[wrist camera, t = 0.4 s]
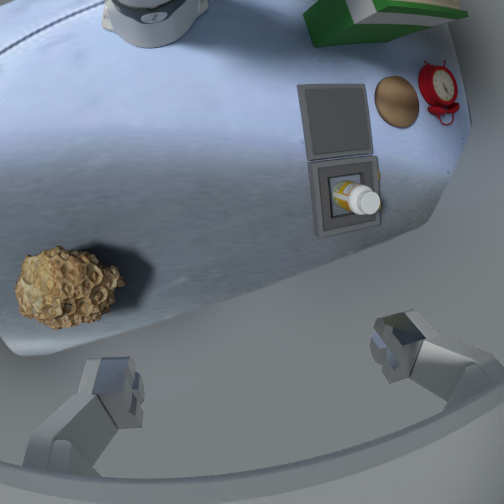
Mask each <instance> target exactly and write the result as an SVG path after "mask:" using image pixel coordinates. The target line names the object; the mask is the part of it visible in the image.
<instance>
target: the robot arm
mask: <svg viewBox="0 0 504 504" xmlns="http://www.w3.org/2000/svg"><path fill="white" fill-rule="evenodd" d="M105 1H106V2H105V7H104V12H103V18H102V27H103V29H105V30H107V31H110V32H114V33H116V34H118V35H119V36H120V37H121V38H122V39H123V40H125V41H126V42H128V43H129V44H131V45H134V46H137V47H143V48H154V47H160V46H164V45H167V44H169V43H172V42H174V41H176V40H177V39H179V38H180V37H181V36H183V35H184V34H185V33H186V32H187V31H188V30H189V28H190V27H191V26H192V24H193V22H194V21H195V19H196V18H197V17H198V16H200V15H201V14H203V13H204V12H205V11H206V10H207V9H208V7H209V3H208V0H202V1H201V2H200V0H105ZM107 18H108V19H107ZM374 329H375V330H376V333H375V334H374V335H373V336H372V338H371V343H370V347H371V353H372V356H373V358H374V360H375V361H376V362H377V363H379V364H381V365H383V366H382V372H383V374H384V375H385V377H386V379H387V380H388V382H389V383H393V382H396V381H400V380H403V379H406V378H409V377H410V379H411V380H413V381H415V382H416V383H418V384H420V385H421V386H423V387H424V388H426V389H428V390H429V391H431V392H433V393H434V394H436V395H438V396H439V397H441V398H442V399H444V400H446V401H447V404H446V406H445V407H444V409H443V411H442V412H440V413H438V414H436V415H434V416H432V417H429V418H427V419H425V420H423V421H421V422H418V423H416V424H413V425H411V426H409V427H406V428H404V429H401V430H399V431H396V432H393V433H391V434H388V435H385V436H383V437H380V438H377V439H374V440H371V441H368V442H365V443H362V444H360V445H356V446H353V447H350V448H346V449H343V450H340V451H336V452H333V453H330V454H325V455H322V456H318V457H314V458H310V459H306V460H301V461H297V462H293V463H288V464H283V465H278V466H273V467H268V468H262V469H256V470H250V471H244V472H236V473H228V474H220V475H210V476H198V477H185V478H184V477H183V478H157V479H156V478H155V479H135V478H134V479H133V478H108V477H102V476H101V475H100V474H99V473H98V472H97V471H96V470H95V469H94V468H93V467H92V466H93V465H94V464H95V462H96V461H97V459H98V458H99V457H100V455H101V454H102V452H103V451H104V449H105V448H106V446H107V445H108V444H109V442H110V441H111V439H112V438H113V437H114V435H115V434H116V433H117V431H118V429H124V428H142V420H143V410H142V408H141V406H140V405H141V404H142V403H143V401H144V385H143V382H142V378H141V376H140V374H139V373H137V372H136V371H135V369H136V364H135V361H134V359H133V358H132V357H107V358H89V359H88V361H87V362H86V366H85V369H84V373H83V376H82V379H81V383H80V386H79V390H78V394H75V395H73V396H71V397H70V398H69V399H68V400H67V401H66V402H65V403H64V404H63V405H62V406H61V407H60V408H59V409H58V410H57V411H56V412H54V413H53V414H52V415H51V416H50V417H49V418H48V419H47V420H46V421H45V422H44V423H43V424H42V425H41V426H40V427H39V428H38V429H37V430H36V431H35V432H33V433H32V434H31V435H30V438H29V442H28V445H27V449H26V453H25V456H24V460H23V465H22V466H19V465H15V464H11V463H6V462H2V461H0V504H504V367H503V365H502V364H501V363H500V362H499V361H498V360H497V359H496V358H495V357H494V355H493V354H491V353H488V352H486V351H483V350H481V349H478V348H475V347H473V346H470V345H468V344H466V343H463V342H461V341H458V340H456V339H453V338H450V337H448V336H446V335H443V334H439V335H438V334H437V333H436V332H435V331H434V330H433V328H432V327H431V326H430V325H429V324H428V323H427V322H426V321H425V320H424V319H423V317H421V316H420V314H419V313H418V312H417V311H416V310H414V309H411V310H407V311H403V312H401V313H396V314H393V315H389V316H385V317H381V318H377V320H376V321H375V324H374Z"/></svg>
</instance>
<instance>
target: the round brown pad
mask: <svg viewBox="0 0 504 504" xmlns="http://www.w3.org/2000/svg"><path fill="white" fill-rule="evenodd" d="M375 105H376V108H377V111H378V113H379V115H380V116H381V117H382V119H383V120H384V121H385V122H386V123H388V124H389V125H391V126H394V127H407V126H409V125H411V124H412V123H413V122H414V121H415V120H416V118H417V115H418V112H419V101H418V97H417V94H416V92H415V90H414V88H413V86H412V85H411V84H410V83H409V82H408V81H407V80H405V79H404V78H402V77H399V76H391V77H387V78H384V79H382V80H381V81H380V82H379V83H378V85H377V87H376V90H375Z"/></svg>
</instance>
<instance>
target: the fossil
mask: <svg viewBox="0 0 504 504" xmlns="http://www.w3.org/2000/svg"><path fill="white" fill-rule="evenodd" d="M21 270H22V272H21V275H20V276H19V278H18V281H17V283H16V286H15V292H16V298H17V299H18V303H19V305H20V307H19V311H20V313H21V314H22V315H23V316H24V317H25V316H27V317H28V318H30V319H32V318H35V319H37V320H38V321H39V322H40V323H42V324H44V325H48V326H49V327H51V328H53V329H61V328H62V327H70V326H72V327H73V326H77V325H79V324H80V323H82V322H87V323H92V322H94V321H95V320H96V321H99V320H100V318H101V316H102V315H103V314H104V313H108V312H109V311H110V305H111V304H112V303H114V302H115V296H114V295H113V293H114V291H115V290H114V289H115V288H119V287H122V286H124V285H125V284H127V283H125V282H124V281H123V280H124V276H123V275H120V274H119V269H118V268H117V267H115V266H112V265H111V266H110V267H109V268H108V267H107V266H105V265H104V264H103V263H102V262H100V261H99V259H98V257H96V256H95V255H94V254H92V255H91V254H90V253H88V252H84V251H77V250H71V251H67V250H64V248H63V247H62V246H56V247H55V248H53V249H51V250H44V251H43V252H41V253H40V254H39V255H37V256H31V255H27V256H26V258H25V261H24V262H23V264H22V267H21Z"/></svg>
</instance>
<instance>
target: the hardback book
mask: <svg viewBox="0 0 504 504" xmlns="http://www.w3.org/2000/svg"><path fill="white" fill-rule="evenodd" d="M303 17H304V20H305V22H306V25H307V28H308V31H309V34H310V37H311V40H312V42H313V45H314V48H315V47H324V46H333V45H344V44H358V43H377V42H388V41H391V40H394V39H397V38H399V37H402V36H405V35H408V34H411V33H414V32H417V31H420V30H423V29H426V28H430V27H433V26H436V25H440V24H443V23H447V22H450V21H453V20H458V19H461V18H465V17H469V16H468V13H467V11H462V10H461V8H460V6H459V3H458V1H457V0H318V1H317V2H316V3H315V4H314V5H313V6H311V7H310V8H309V9H308V10H307V11H306V12H305V13H304V14H303Z"/></svg>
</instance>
